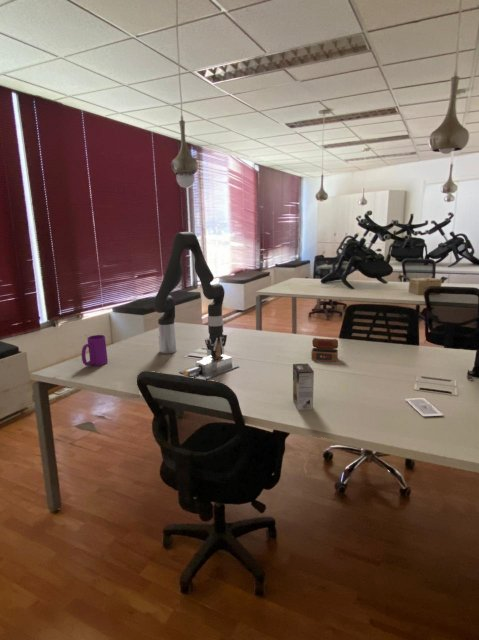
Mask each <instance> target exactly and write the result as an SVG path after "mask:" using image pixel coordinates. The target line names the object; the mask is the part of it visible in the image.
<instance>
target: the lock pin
mask: <svg viewBox="0 0 479 640" xmlns="http://www.w3.org/2000/svg"><path fill="white" fill-rule="evenodd" d="M199 371H202V366H198V367H195V368H192V369H189V370H186V371H184V372H183V374H182V375H183V376H184V377H185V376H186V377H189V376H188V375H191V374H194V373H196V372H199Z"/></svg>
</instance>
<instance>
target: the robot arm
mask: <svg viewBox="0 0 479 640" xmlns="http://www.w3.org/2000/svg"><path fill="white" fill-rule="evenodd" d="M172 242H173V243H172V247H171V251H170V255H169V260H168V262H167V266H166V268H165V271H164V274H163V278H162V281H161V283H160V286H159V289H158V292H157V294H156V295H155V298H154V300H153V309H154V312H155V313H158V314H159V313H160V314H161V313H163V315H161V317H159V318H158V320H157V321H158V324H157V325H158V346H159V351H160V353H161V354H167V355H168V354H173V353H176V352H177V341H176V328H175V327H176V326H175V324H176V323H175V319H176V302H175V299H174V297H173V296H172V295H170V294H171V293H172V292H173V291H174V290H175V289H176V288H177V286H179V284H180V282H181V279H182V277H183V275H184V268H183V264H182V261H181V258H182V255H183V254H184V253H183V252H184V251H190V252H191V253H192V254H193V258H194V270H195V273H196V276H197V277H198V280H199V281H200V283H201V284H200V285H201V290H202V293H203V294H202V295H204V297H205V298H206V299H207V300H209V301H210V300H212V302H210V303H209V304H208V305H207V326H208V327H207V328H208V330H207V331H208V334H209V336H208V337H209V339H207V338H206V339H207V340H206V339H204V342H205V345H206V349H207V348H208V350H211V356H212V357H214V358H215V357H216V351H215V348H216V345H217V341H220V345H221V355H222V348H223V346H224V347H225V346H226V342H227V337H228V335H227V334H223V333H224V318H223V308H222V307H223V304H224V299H225V293H226V292H225V288H224V286H223V285H222V284H220V283H216V284H212V282H213V281H214V279H215V277H214V274H213V273H212V270H211V269H210V267H209V265H208V264H207V261H206V259H205V257H204V253H203V250H202V247H201V245H200V241H199V239H198V237H197V235H196V234H195V233H194V232H192V231H180V232H177V233H176V234H175V236H174V238H173V241H172ZM223 341H224V342H223ZM213 343H214V344H213Z"/></svg>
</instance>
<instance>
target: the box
mask: <svg viewBox="0 0 479 640" xmlns="http://www.w3.org/2000/svg"><path fill="white" fill-rule="evenodd" d="M311 341H312V347H313V348H312V349H311V355H310V356H311V358H310V359H311V360H312V361H317V362H318V361H319V362H332V363H336V362H338V360H339V359H338V356H339V355H338V354H339V353H338V351H339V350H338V348H339V340H338V339H337V338H318V337H313V338H312V340H311Z"/></svg>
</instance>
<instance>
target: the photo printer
mask: <svg viewBox="0 0 479 640" xmlns="http://www.w3.org/2000/svg"><path fill="white" fill-rule="evenodd" d="M207 339H209V336H207V337H206V339H205V340H207ZM223 342H224V341H223ZM222 354H223V355H225V346H223V348H222ZM210 355H211V350H208V348H207V347H206V357H207V356H210Z"/></svg>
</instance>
